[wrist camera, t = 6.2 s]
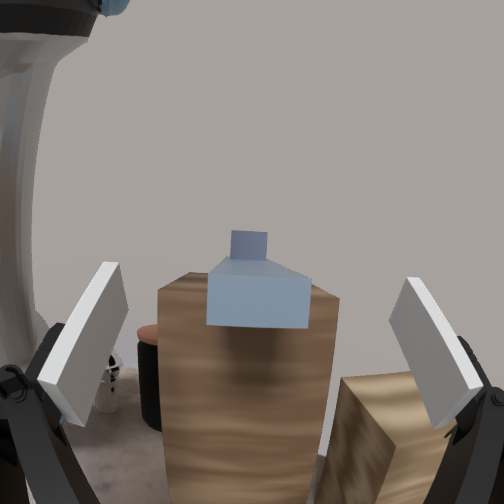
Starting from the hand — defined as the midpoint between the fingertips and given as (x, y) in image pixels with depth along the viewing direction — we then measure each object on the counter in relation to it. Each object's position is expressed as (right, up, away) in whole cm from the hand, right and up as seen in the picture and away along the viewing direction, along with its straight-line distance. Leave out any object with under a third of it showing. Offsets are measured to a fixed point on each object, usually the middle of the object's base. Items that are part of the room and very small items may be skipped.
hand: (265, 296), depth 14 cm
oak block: (+12, -32, +10) cm, 35 cm away
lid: (-1, -1, +8) cm, 8 cm away
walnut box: (-3, -31, +14) cm, 34 cm away
